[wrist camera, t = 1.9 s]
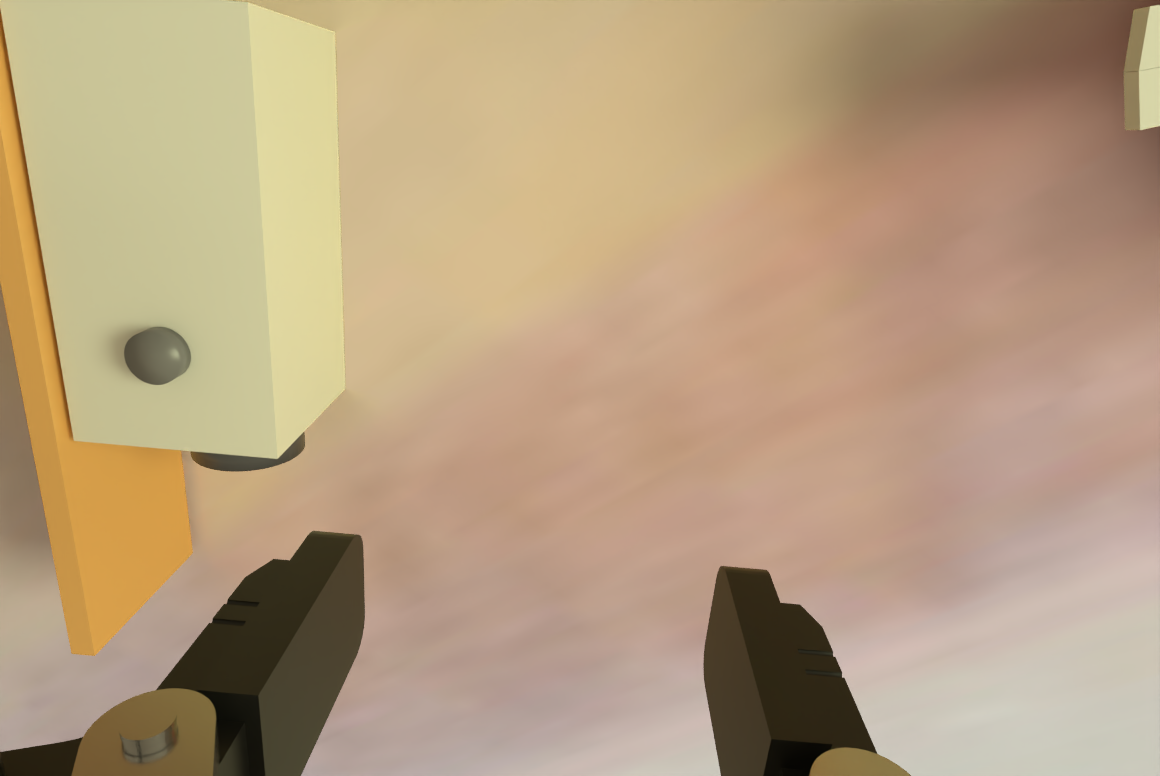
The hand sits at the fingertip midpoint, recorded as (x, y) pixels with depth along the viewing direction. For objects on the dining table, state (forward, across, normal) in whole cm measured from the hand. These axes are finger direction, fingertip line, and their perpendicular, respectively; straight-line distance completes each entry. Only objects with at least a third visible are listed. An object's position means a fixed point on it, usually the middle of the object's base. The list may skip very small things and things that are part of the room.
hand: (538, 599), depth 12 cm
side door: (+23, -20, -3) cm, 31 cm away
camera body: (+24, -15, +2) cm, 28 cm away
